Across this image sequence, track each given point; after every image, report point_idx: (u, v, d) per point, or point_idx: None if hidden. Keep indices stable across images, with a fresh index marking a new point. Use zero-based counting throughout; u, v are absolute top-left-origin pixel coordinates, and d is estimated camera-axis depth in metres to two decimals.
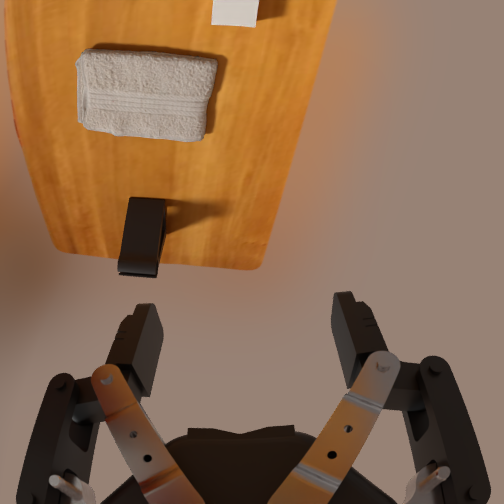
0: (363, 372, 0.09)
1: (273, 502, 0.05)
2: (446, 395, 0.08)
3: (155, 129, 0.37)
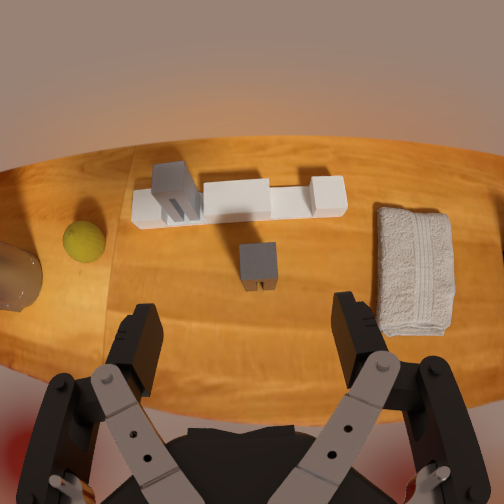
0: (363, 372, 0.09)
1: (273, 502, 0.05)
2: (446, 395, 0.08)
3: (445, 253, 0.38)
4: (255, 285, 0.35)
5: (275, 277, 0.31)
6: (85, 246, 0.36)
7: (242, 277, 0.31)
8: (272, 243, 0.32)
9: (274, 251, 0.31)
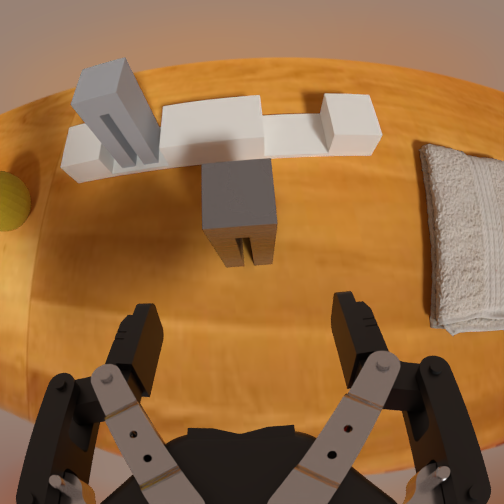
0: (363, 372, 0.09)
1: (273, 502, 0.05)
2: (446, 395, 0.08)
3: None
4: (237, 249, 0.20)
5: (271, 222, 0.15)
6: None
7: (205, 223, 0.15)
8: (264, 160, 0.16)
9: (268, 174, 0.16)
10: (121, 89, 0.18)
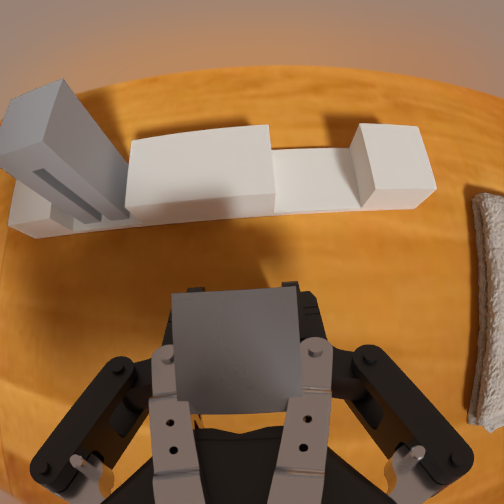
0: None
1: (273, 502, 0.05)
2: (390, 379, 0.09)
3: None
4: None
5: None
6: None
7: None
8: (285, 291, 0.09)
9: (292, 319, 0.09)
10: (54, 132, 0.11)
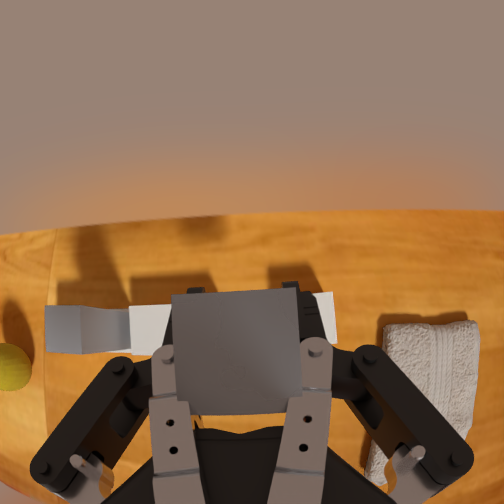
0: None
1: (273, 502, 0.05)
2: (390, 379, 0.09)
3: (468, 380, 0.25)
4: None
5: None
6: (3, 382, 0.23)
7: None
8: (285, 292, 0.09)
9: (292, 320, 0.09)
10: (85, 343, 0.20)
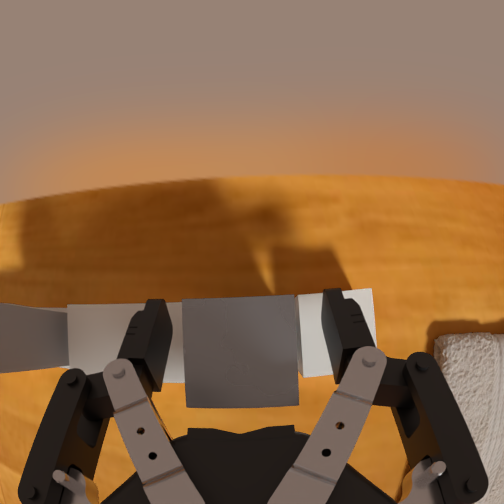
0: (349, 367, 0.10)
1: (273, 502, 0.05)
2: (435, 390, 0.08)
3: None
4: None
5: (290, 402, 0.09)
6: None
7: (191, 399, 0.09)
8: (284, 298, 0.10)
9: (290, 324, 0.10)
10: None
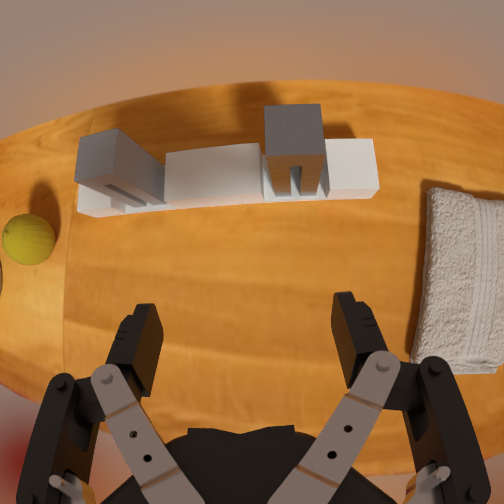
0: (363, 372, 0.09)
1: (273, 502, 0.05)
2: (446, 395, 0.08)
3: None
4: (289, 177, 0.23)
5: (321, 153, 0.18)
6: (22, 248, 0.25)
7: (268, 151, 0.19)
8: (315, 105, 0.18)
9: (318, 116, 0.18)
10: (118, 165, 0.21)
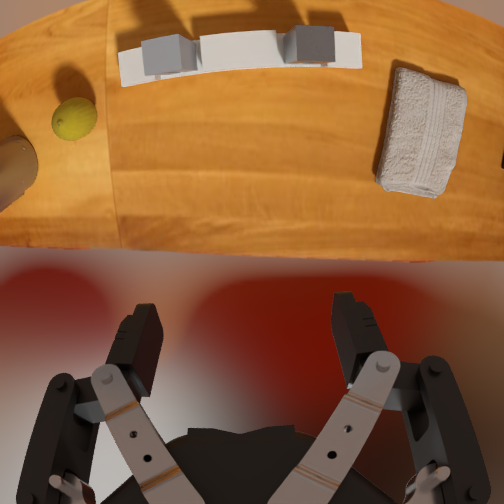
0: (363, 372, 0.09)
1: (273, 502, 0.05)
2: (446, 395, 0.08)
3: (455, 128, 0.35)
4: (302, 62, 0.29)
5: (332, 60, 0.25)
6: (78, 129, 0.31)
7: (298, 57, 0.25)
8: (330, 27, 0.23)
9: (332, 35, 0.23)
10: (182, 61, 0.25)
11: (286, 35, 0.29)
